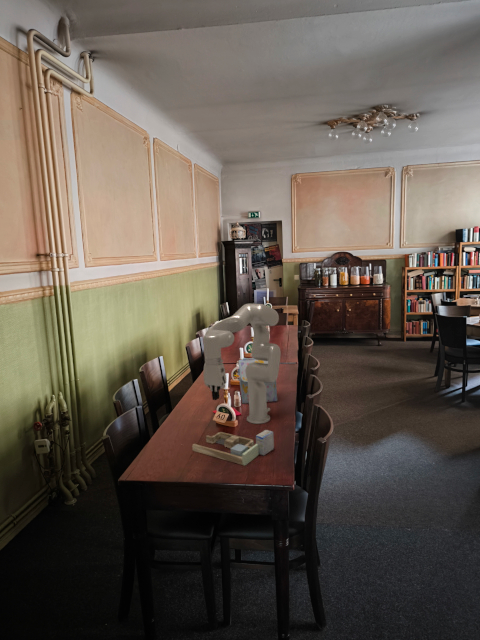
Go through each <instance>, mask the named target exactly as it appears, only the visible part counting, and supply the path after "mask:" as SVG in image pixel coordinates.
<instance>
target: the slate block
mask: <svg viewBox="0 0 480 640" xmlns="http://www.w3.org/2000/svg"><path fill="white" fill-rule="evenodd" d="M247 450H248V446H244V445H240V444H237V445H235V446H234V447H232V448H231V449H230V454H233V455H237V456H241V457H242V454H243V453H244V452H246V451H247Z"/></svg>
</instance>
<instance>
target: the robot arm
mask: <svg viewBox="0 0 480 640" xmlns="http://www.w3.org/2000/svg"><path fill="white" fill-rule="evenodd" d="M279 317H280V316H279V313H278V311H276V309H274V308H272V307H270V306H268V305H265V304H263V303H245V304H243V305H242V306H241V307H240V308H238V310H236V311H235V313H233V315H231V316H229V317H227V318H224V319H221V320H220V321H217V322H215V323H213V324H212V325H211V326H210V327H209V328H208V329H207V331H206V332H205V335H203V338H202V341H203V352H204V353H203V354H204V365H203V375H202V377H203V382H204V386H206V387H208V388H209V390H210V391H211V397H212V401H218V399H220V391H221V390H223V389H225V388H226V383H227V375H226V369H225V366H224V365H225V364H224V363H223V362H224V359H222V350H221V349H222V348H223V349H224V348H228V347H230V346H232V345H233V344H234V342H235V334H234V333H237V332H240V331H243V330H244V329H245V328H246V327H247V326H248V325H249V324H250V325H251V327H252V330H253V338H252V345H251V354H250V355H251V358H254V359H256V360H261V361H268V364H264V363H257V362H253V363H250V364H248V365H247V367H246V377H247V381H248V392H249V403H248V409H249V410H248V411H249V415H247V417H246V421H247V422H248V423H250V424H254V425H255V424H257V425H260V424H261V425H262V424H266V423H268V422H269V421H270V420H271V416H270V415H269V414H268V412H270V411H271V408H270V407H268V406H267V405H268V404H267V400H266V386H265V384H264V382H269V383H273V382H275V381H276V382H277V379H278V377H279V376H278V375H279V370H280V363H281V355H282V354H281V353H282V352H281V348H280V346H279V345H278V344H276V343H270V331H269V329H268V327H274V326H276V325H277V324H278V323H279V321H280V318H279Z"/></svg>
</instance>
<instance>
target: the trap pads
mask: <svg viewBox="0 0 480 640" xmlns="http://www.w3.org/2000/svg"><path fill="white" fill-rule="evenodd" d="M224 441H225V440H224V439H219V440H218V441H216V442H215V444H219V445H222V446H224ZM239 444H240V443H239ZM240 445H244V444H240ZM244 446H245V445H244Z"/></svg>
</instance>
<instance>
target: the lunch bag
mask: <svg viewBox="0 0 480 640" xmlns="http://www.w3.org/2000/svg"><path fill="white" fill-rule="evenodd" d="M253 362H257V363H264V364H268V361H261V360H256V359H254V358H252V357H250V358H247V357H242V359H239V360H238V363H237V364H238V368H239V380H238V381H239V388H240V397H241V402H242V403H241V404H249V392H248V381H247V377H246V367H247V365H248V364H250V363H253ZM264 384H265V386H266V400H267V402H268V403H269V402H270V403H271V402H278V393H277V392H278V391H277V390H278V389H277V380H276V381H275V382H273V383H269V382H264Z"/></svg>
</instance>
